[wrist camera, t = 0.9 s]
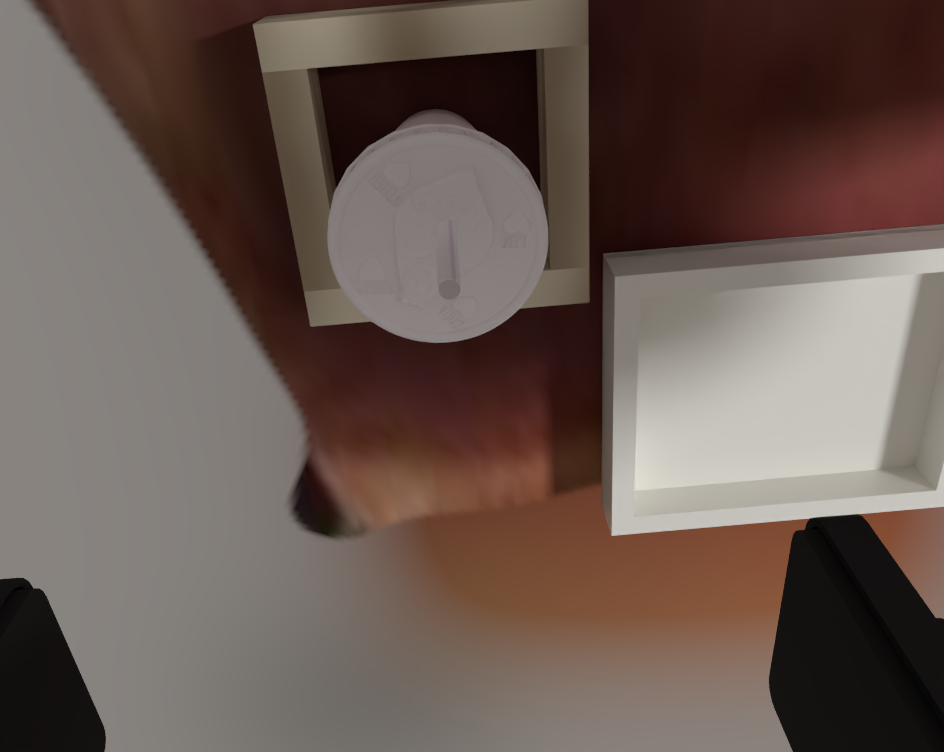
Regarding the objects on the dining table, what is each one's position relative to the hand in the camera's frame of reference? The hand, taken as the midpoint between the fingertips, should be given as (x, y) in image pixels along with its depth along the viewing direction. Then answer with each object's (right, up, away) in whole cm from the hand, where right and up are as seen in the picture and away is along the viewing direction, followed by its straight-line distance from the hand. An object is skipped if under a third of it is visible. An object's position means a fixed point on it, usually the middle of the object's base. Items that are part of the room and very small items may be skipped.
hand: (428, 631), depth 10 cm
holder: (-1, +12, +21) cm, 24 cm away
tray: (+14, +3, +27) cm, 30 cm away
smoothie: (-1, +12, +21) cm, 24 cm away
